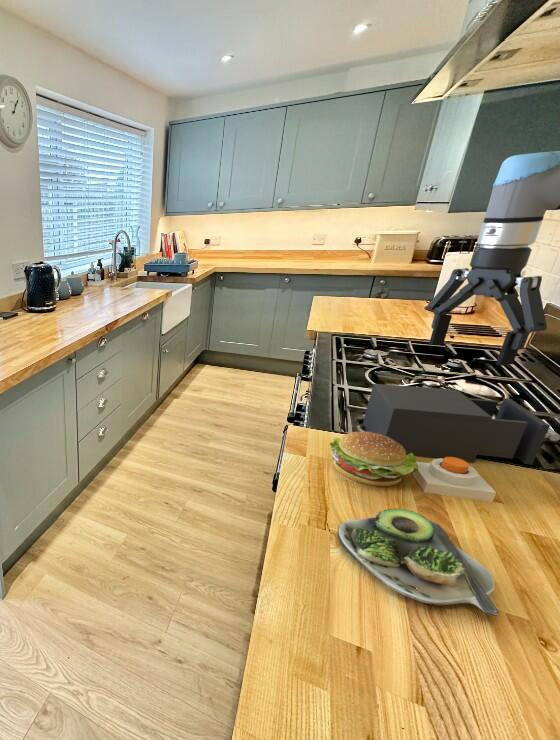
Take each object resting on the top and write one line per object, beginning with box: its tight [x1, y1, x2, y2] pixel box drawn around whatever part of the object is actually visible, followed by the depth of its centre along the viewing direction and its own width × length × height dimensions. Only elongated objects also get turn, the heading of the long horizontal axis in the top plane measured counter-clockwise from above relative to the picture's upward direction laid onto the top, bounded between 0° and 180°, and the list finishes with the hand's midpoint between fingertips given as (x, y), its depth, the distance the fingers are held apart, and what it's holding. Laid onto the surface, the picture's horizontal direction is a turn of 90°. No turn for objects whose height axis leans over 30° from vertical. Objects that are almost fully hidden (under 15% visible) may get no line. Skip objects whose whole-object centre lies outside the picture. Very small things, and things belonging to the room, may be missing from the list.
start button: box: [441, 457, 470, 474], centre depth 80 cm, size 4×4×2 cm
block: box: [410, 458, 497, 503], centre depth 80 cm, size 10×8×4 cm
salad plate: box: [337, 508, 500, 617], centre depth 63 cm, size 19×18×5 cm
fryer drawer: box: [467, 397, 560, 465], centre depth 89 cm, size 19×13×9 cm
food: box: [329, 430, 418, 487], centre depth 85 cm, size 14×14×8 cm
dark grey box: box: [362, 383, 493, 464], centre depth 94 cm, size 16×14×11 cm
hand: (467, 353), depth 86 cm, fingers open, 13 cm apart
